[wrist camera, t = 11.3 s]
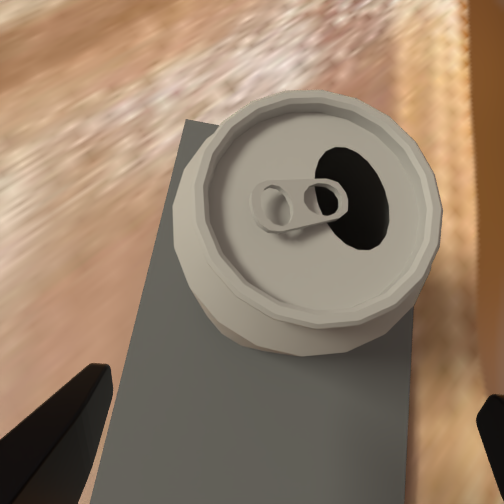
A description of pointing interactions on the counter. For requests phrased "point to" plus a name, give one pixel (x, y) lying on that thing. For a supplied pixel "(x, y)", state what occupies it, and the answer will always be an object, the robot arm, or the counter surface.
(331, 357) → the bar mat
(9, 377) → the counter surface
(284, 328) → the can
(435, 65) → the counter surface
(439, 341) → the counter surface
